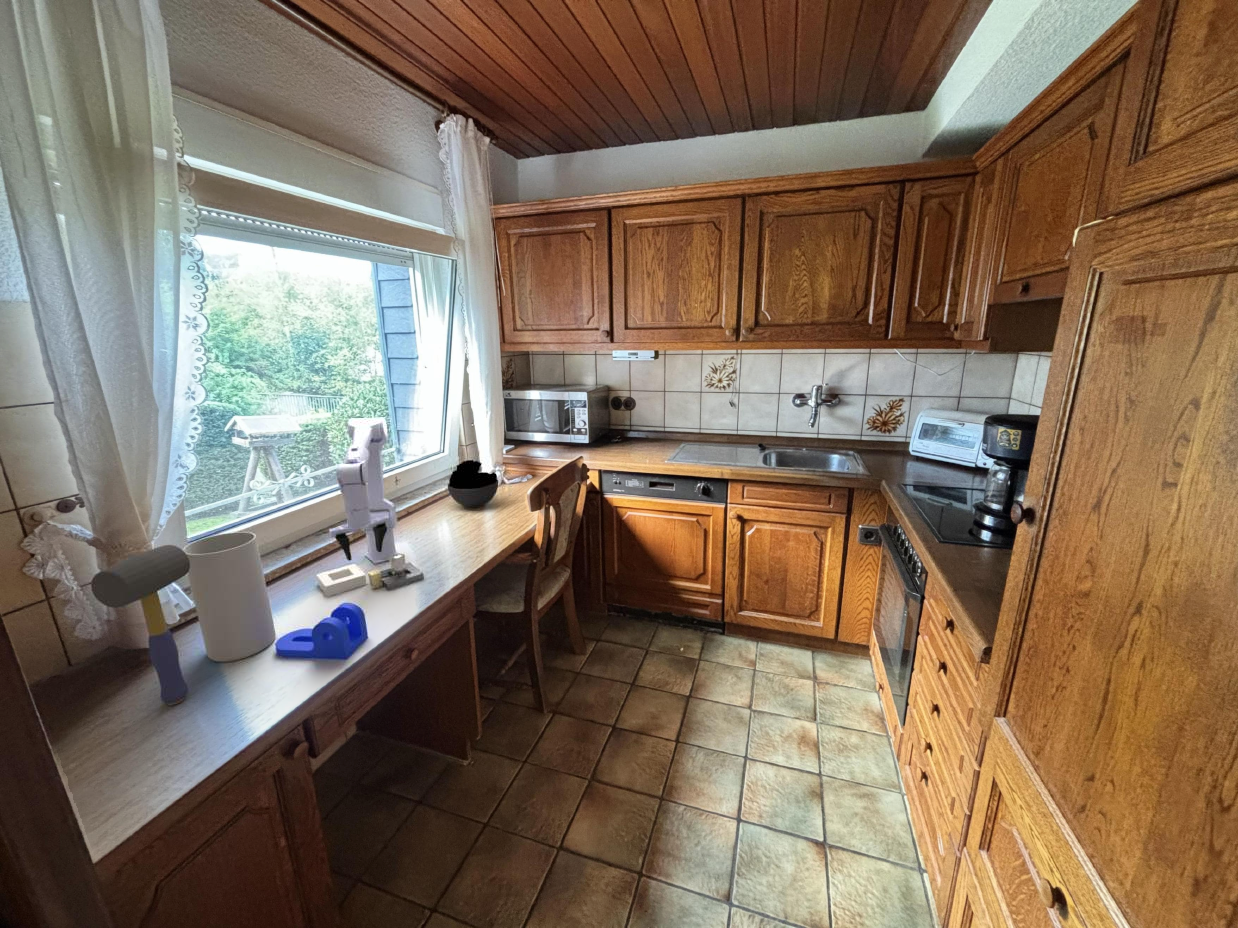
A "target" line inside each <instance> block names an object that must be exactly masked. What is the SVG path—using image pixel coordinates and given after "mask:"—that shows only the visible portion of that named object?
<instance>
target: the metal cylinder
mask: <svg viewBox="0 0 1238 928" xmlns="http://www.w3.org/2000/svg"><path fill="white" fill-rule="evenodd" d="M389 559H390V560H389V564H390V565H389V566H390V568H391V574H392V578H393V579H394V578H397V577H400V576H404V575H407V570H406V563H407V562H406V556H405V554H404V553H403V552H401V553H399V552H397V554H393V555H391V556H390V557H389Z"/></svg>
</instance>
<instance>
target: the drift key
mask: <svg viewBox="0 0 1238 928" xmlns="http://www.w3.org/2000/svg"><path fill="white" fill-rule="evenodd" d="M380 571H381V570H378V569H377V568H376V569H373V570H370V571H368V572H367V574H368V581H369V586H370V587H371V588H372V589H373V590H374V589H377V588H381V587H384V586H383V582H382V580H383V579H386V578H389V576H388V577H385V578H381V572H380Z"/></svg>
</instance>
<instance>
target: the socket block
mask: <svg viewBox="0 0 1238 928" xmlns="http://www.w3.org/2000/svg"><path fill="white" fill-rule="evenodd" d="M405 563H406V570H407V575H404V576H400V577H397V578H394V579H393V578H392V574H391V567H390V568H386V569H383V570H379V571H380V572H381V578H385V577H388V576H389V578H386V579H383V580H382V582H383V584H382V585H383V586H382V587H384V588H385V589H386V590H387V591H390V590H394V589H397V588H400V587H404V586H406V585H409V584H413V583H415V582H419V581H422V580H424V579H425V574H424V572H423V571H421V570H420V569H419V568H418V567H417V566H415V565H414V564H413V563H411V562H405Z"/></svg>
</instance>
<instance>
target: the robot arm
mask: <svg viewBox="0 0 1238 928" xmlns="http://www.w3.org/2000/svg"><path fill="white" fill-rule="evenodd" d="M347 433H348V436H349V438H350V439H351V440H352V445H351V446H349V447H348V448H347V450H346V451H345V455H344V458H343V462H342V463H341V464H340V465H339V466H337V468H336V481H337V484H338V486H339V490H340V493H341V494H342V496H343V503H344V508H345V509H344V510H345V516H346V522H347V523H345V524H342V525H339V526H336V527H333V528H329V529H328V532H329V537H330V538H331V539H335V540H336V541H337V542H338V544H339V545H340V547H341V549H342V550H343V552H344V555H345V558H346V560H347V561H349V562H350V561H352V559H353V558H352V553H351V549H350V548H351V547H350V538H349V537H348V534H350V533H355V532H359V531H362V532H365V534H366V535H365V540H366V546H367V553H365V555H364V557H366V558H367V559H369V560H370V561H371V562H372V563H373V564H374V565H376V564H380V563H384V562H388V561H390V559H389V557H390V556H391V555H393V554H397V553H398V551H397V549H396V544H395V542H396V541H395V535H394V529H396V528H397V525H398V515H397V510H396V505H395V503H393V502H392V501H390V500H389V499H387V498H386V496H385V483H384V481H385V480H384V470H383V469H384V468H383V455H382V451H383V447H384V446H385V445H388V440H389V437H388V426H387V421H386V419H385V418H384V417H383V416H382V417H365V418H350V419H348V422H347Z"/></svg>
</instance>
